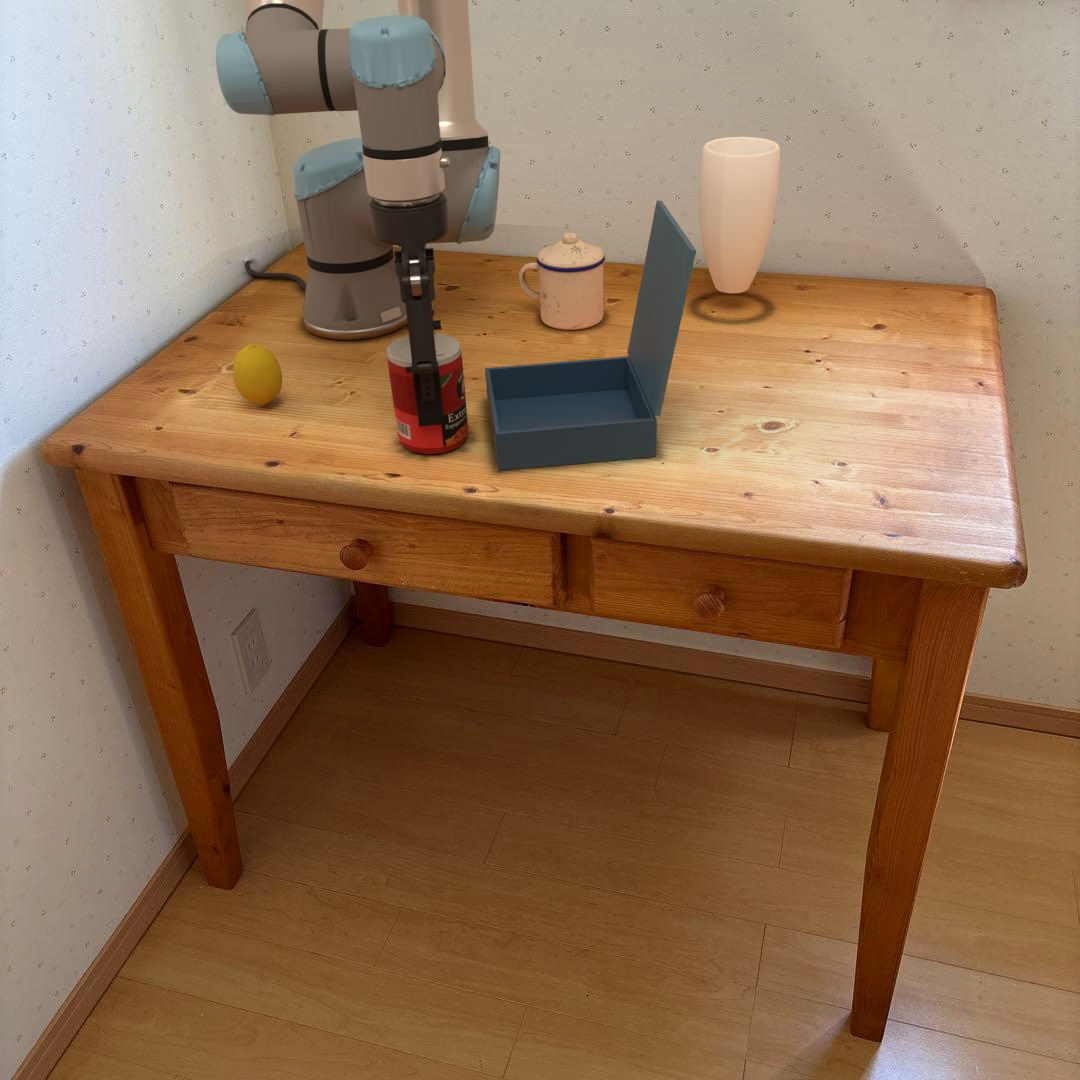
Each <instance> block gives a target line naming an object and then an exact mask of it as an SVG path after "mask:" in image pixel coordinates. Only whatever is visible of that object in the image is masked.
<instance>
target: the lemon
mask: <svg viewBox="0 0 1080 1080" xmlns="http://www.w3.org/2000/svg"><path fill="white" fill-rule="evenodd" d="M232 363H233V364H232V378H233V382H234V385H235V387H236V390H237V391H238V393H239V394H240V395H241V396H242V398H243V399H244V400H246V401H248V402H250V403H253V404H258V405H259V406H260V407H266V406H267V405H268V404H269V402H271V401H273V400H275V398H277V396H278V395H279V394H280V392H281V389H282V384H283V374H282V373H283V372H282V369H281V366H280V363H279V361H278V358H277V357H276V355H275V354H274V353H273V351H271V350H270V349H269V348H267V347H265V346H263V345H260V344H255V343H254V342H251V343H248V344H247V345H246V346H244V347H242V348H241V349H240V350H239V351H238V352H237V354H236V355H235V356H234V358H233V362H232Z"/></svg>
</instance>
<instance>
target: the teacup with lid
mask: <svg viewBox="0 0 1080 1080" xmlns="http://www.w3.org/2000/svg"><path fill="white" fill-rule="evenodd" d="M605 255H606V254H605V253H604V251H603V250H602V248H601V247H599V246H598V245H595V244H592V243H589V242H585V241H584V240H581V239H579V236H578V234H577V233H575V232H566V233H564V234H563V235H562V240H561V239H560V240H559V241H557V242H555V243H554V244H553V243H552V244H550V245H547V246H545V247H543V248H541V250H540V251H539V252H538V253H537V257H536V262H528V263H526V264H524V265H523V266H522V267H521V268H520V270H519V271H518V281H519V286H520V287H521V289H522V291H523V293H524V294H525V295H526V296H528V297H529V298H531V299H533V300H536V301H537V300H538V301H539V304H540V305H539V306H540V307H539V309H540V319H541V321H542V322H543V323H544V325H547V326H548V327H550V328H554V329H558V330H565V331H576V330H577V331H578V330H583V329H584V330H585V329H587V328H591V327H594V326H595V325H597V324H599V323H600V322H601V321H602V320H603V318H604V316H605V315H604V314H605V313H604V311H605V310H604V309H605V308H604V307H605V303H604V302H605V301H604V262H605V260H606V256H605ZM529 270H534V271H536V270H537V271H538V283H539V284H538V285H539V292H538V291H535V290H533V289H532V288H531V287H530V286H529V284H528V282H527V278H526V272H527V271H529Z"/></svg>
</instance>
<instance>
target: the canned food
mask: <svg viewBox="0 0 1080 1080" xmlns="http://www.w3.org/2000/svg"><path fill="white" fill-rule="evenodd" d="M434 339H435V349H436V359H437V362H438V365H439V374H440V384H441V393H442V403H443V413H444V423H445V424H443V425H432V426H421V427H419V422H418V413H417V405H416V396H415V388H414V379H413V373H406V367H411V366H412V357H411V348H410V339H409V335H405V336H402V337H399V338H398V339H396V340H393V341H392V342H391V343H389V345H388V346H387V348H386V352H387V353H386V360H387V367H388V376H389V383H390V388H391V389H390V390H391V397H392V403H393V411H394V418H395V419H394V420H395V426H396V432H397V433H396V434H397V437H398V439H399V442H400V444H401V445H402V446H403V447H404V448H405V449H406V450H409V451H411V452H415V453H417V454H425V455H437V454H443V453H448V452H451V451H453V450H455V449H457V448H459V447H460V446H462V445H463V444H464V443H465V442H466V440H467V437H468V434H469V423H468V421H469V420H468V409H467V399H466V398H467V397H466V386H465V374H464V363H463V361H464V360H463V353H462V348H461V344H460V341H459V340H458V339H456V338H454V337H452V336H450V335H448V334H444V333H443V334H442V333H437V332H436V333H434Z"/></svg>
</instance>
